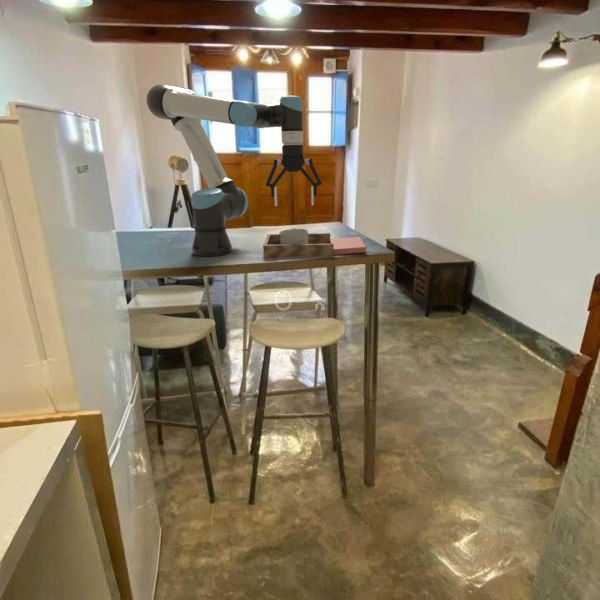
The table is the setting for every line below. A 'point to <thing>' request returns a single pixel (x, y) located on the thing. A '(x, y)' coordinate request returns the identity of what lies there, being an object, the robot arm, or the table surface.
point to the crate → (299, 246)
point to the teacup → (294, 236)
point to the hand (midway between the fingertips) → (294, 205)
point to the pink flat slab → (348, 245)
